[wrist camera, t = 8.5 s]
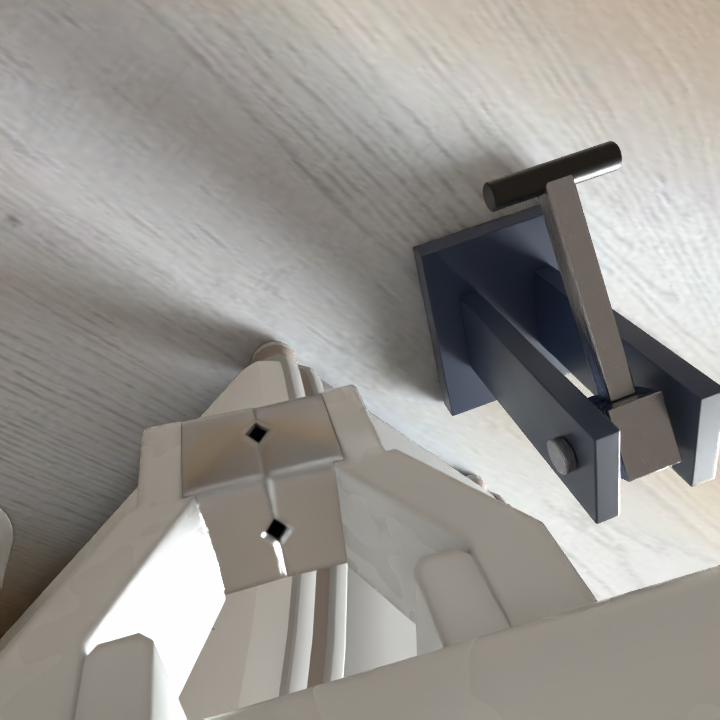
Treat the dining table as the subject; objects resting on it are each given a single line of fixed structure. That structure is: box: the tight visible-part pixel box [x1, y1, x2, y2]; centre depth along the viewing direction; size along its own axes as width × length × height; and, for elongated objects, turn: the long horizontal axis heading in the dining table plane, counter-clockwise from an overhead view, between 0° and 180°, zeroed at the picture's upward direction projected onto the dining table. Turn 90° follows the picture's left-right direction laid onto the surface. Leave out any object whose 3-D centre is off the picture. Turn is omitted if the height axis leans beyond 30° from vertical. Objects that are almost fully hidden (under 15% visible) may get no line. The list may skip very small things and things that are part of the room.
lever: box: [483, 141, 682, 482], centre depth 23 cm, size 12×5×2 cm, turn 14°
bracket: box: [413, 205, 720, 524], centre depth 27 cm, size 10×8×13 cm
